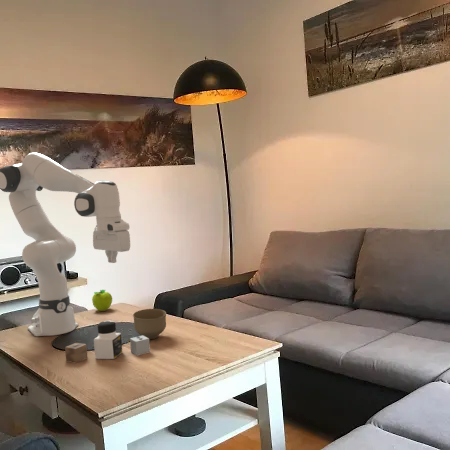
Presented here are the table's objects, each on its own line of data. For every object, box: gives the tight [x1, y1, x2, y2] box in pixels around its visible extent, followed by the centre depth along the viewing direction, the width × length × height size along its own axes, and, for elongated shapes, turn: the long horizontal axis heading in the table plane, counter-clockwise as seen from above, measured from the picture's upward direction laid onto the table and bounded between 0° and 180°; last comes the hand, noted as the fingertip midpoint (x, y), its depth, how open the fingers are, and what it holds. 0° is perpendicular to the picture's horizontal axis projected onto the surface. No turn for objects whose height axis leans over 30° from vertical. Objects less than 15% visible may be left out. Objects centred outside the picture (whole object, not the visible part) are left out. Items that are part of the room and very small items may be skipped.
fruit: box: [91, 289, 113, 312], centre depth 238 cm, size 9×9×10 cm
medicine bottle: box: [93, 320, 123, 360], centre depth 172 cm, size 7×7×12 cm
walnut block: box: [64, 342, 89, 364], centre depth 170 cm, size 5×5×5 cm
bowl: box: [132, 308, 167, 340], centre depth 189 cm, size 13×13×10 cm
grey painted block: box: [129, 335, 151, 356], centre depth 174 cm, size 5×5×5 cm
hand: (112, 262), depth 181 cm, fingers closed
